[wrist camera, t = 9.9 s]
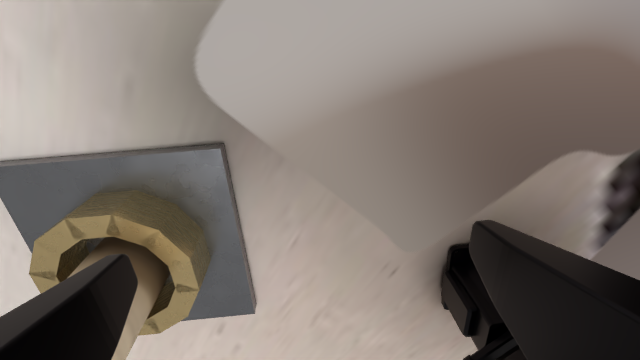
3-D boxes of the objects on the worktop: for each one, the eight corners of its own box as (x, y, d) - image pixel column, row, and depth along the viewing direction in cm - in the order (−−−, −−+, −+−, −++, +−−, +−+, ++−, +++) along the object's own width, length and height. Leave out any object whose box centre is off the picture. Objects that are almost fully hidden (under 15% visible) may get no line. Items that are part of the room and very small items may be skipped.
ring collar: (223, 143, 20) (207, 167, 17) (256, 303, 26) (249, 347, 23) (-2, 161, 20) (-69, 190, 16) (83, 320, 26) (49, 368, 22)
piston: (166, 220, 21) (86, 337, 13) (183, 275, 23) (123, 406, 15) (93, 226, 21) (-34, 349, 13) (116, 281, 23) (20, 417, 15)
